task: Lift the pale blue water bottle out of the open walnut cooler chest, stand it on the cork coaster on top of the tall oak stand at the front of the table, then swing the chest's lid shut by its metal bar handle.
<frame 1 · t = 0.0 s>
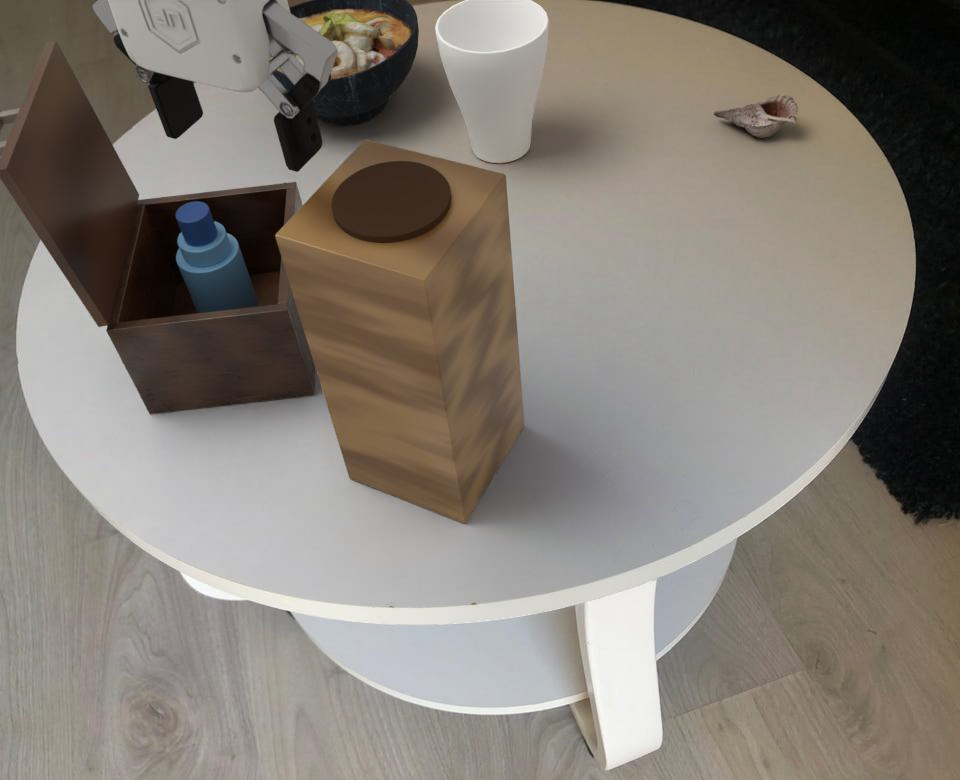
hand: (244, 142, 65), 23 cm above the table, tool pointing down, fingers open, 9 cm apart
cooler: (239, 336, 86), on the table
cooler lid: (47, 190, 73), point 17 cm above the table, hinge at 95.0°
bowl: (350, 105, 109), on the table
coaster: (392, 203, 58), resting on stand
stand: (438, 451, 76), on the table
seashell: (758, 129, 100), on the table
cup: (501, 147, 101), on the table
bottle: (237, 330, 86), point 1 cm above the table, touching cooler
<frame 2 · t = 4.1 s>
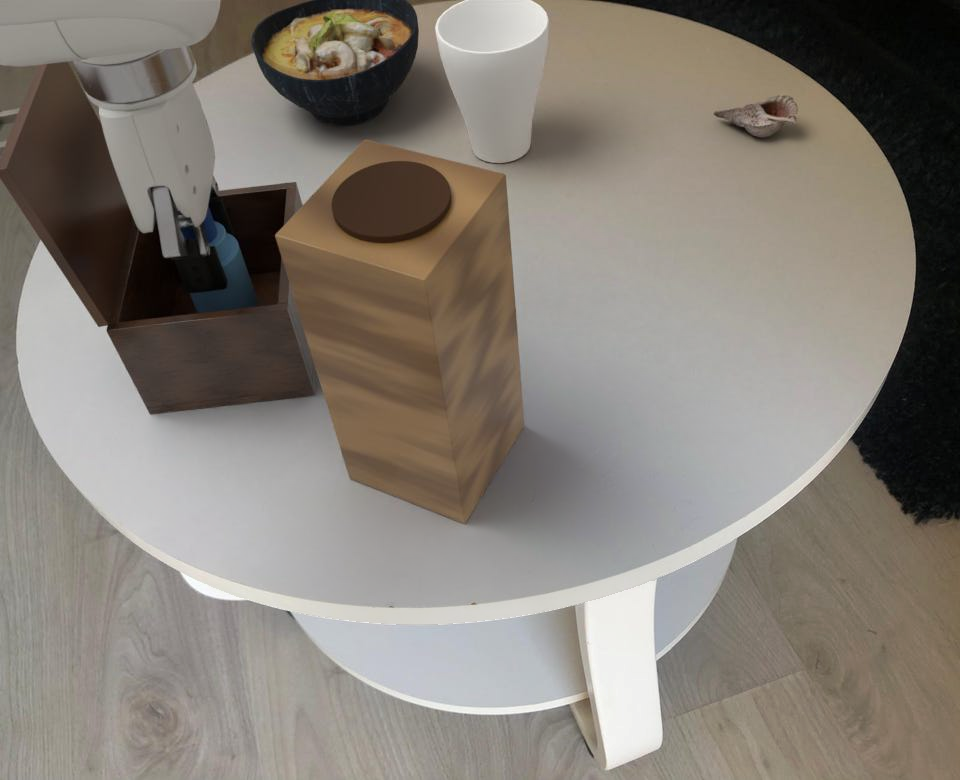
hand: (211, 262, 80), 9 cm above the table, tool pointing down, fingers closed on bottle, 5 cm apart
bottle: (237, 330, 86), point 1 cm above the table, touching cooler, gripper
everything else where it was.
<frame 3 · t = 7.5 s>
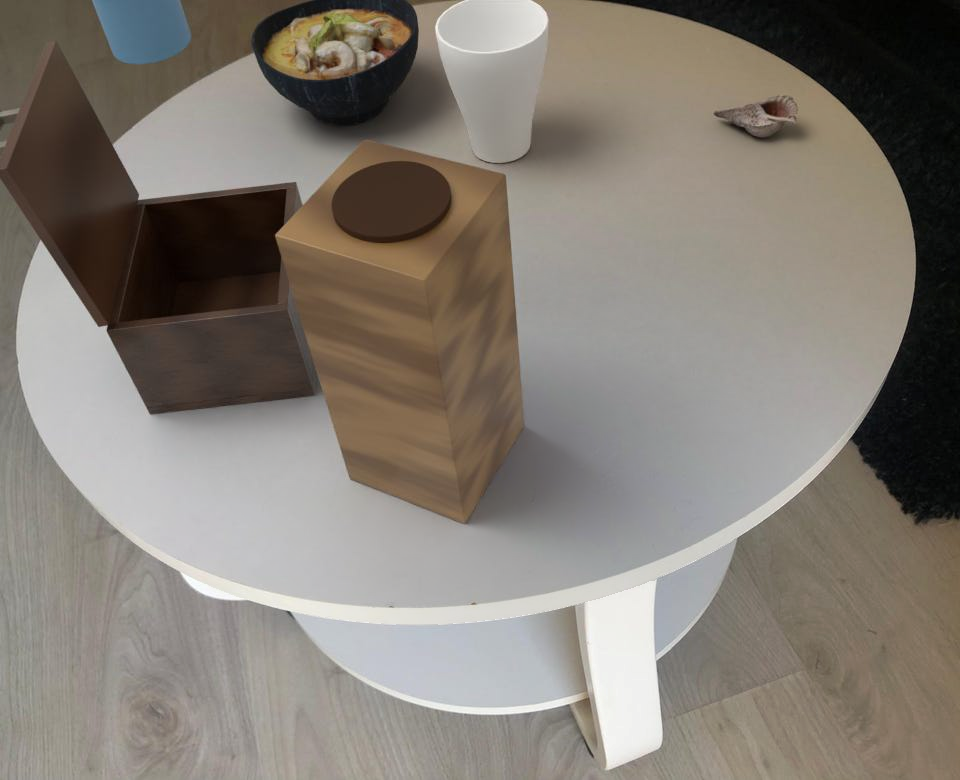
bottle: (152, 43, 63), point 29 cm above the table, touching gripper
everything else where it was.
when the fingers open (32 cm above the table, at t = 10.8 s): bottle stays where it is, resting on coaster.
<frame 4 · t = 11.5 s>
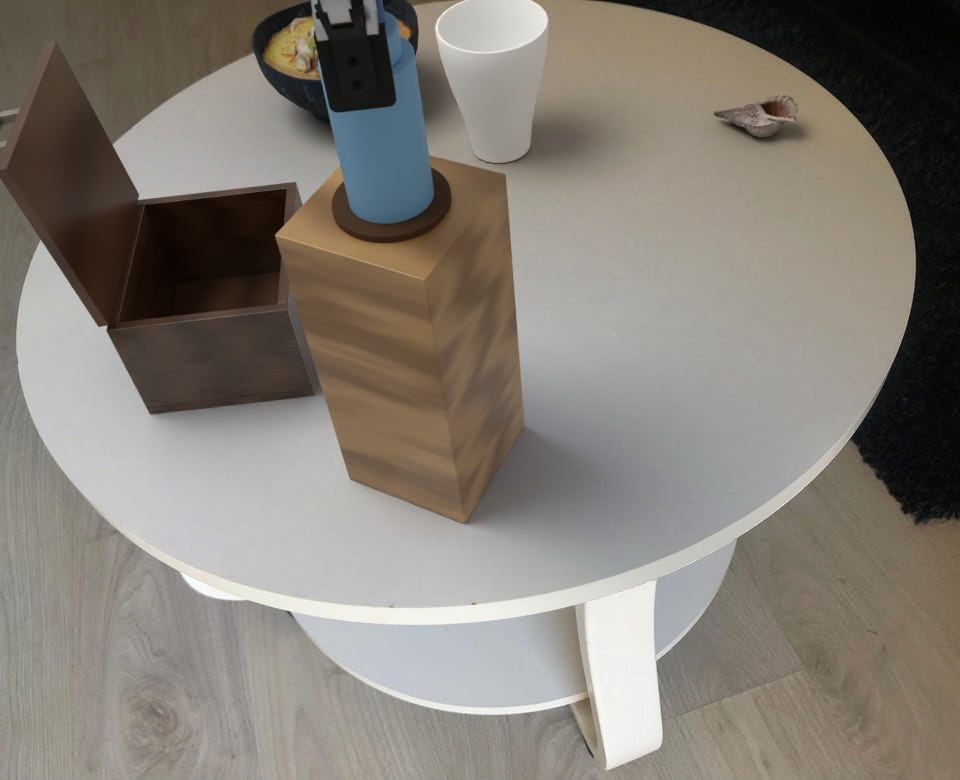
hand: (363, 52, 51), 34 cm above the table, tool pointing down, fingers open, 9 cm apart
bottle: (391, 196, 58), point 24 cm above the table, touching coaster
everything else where it was.
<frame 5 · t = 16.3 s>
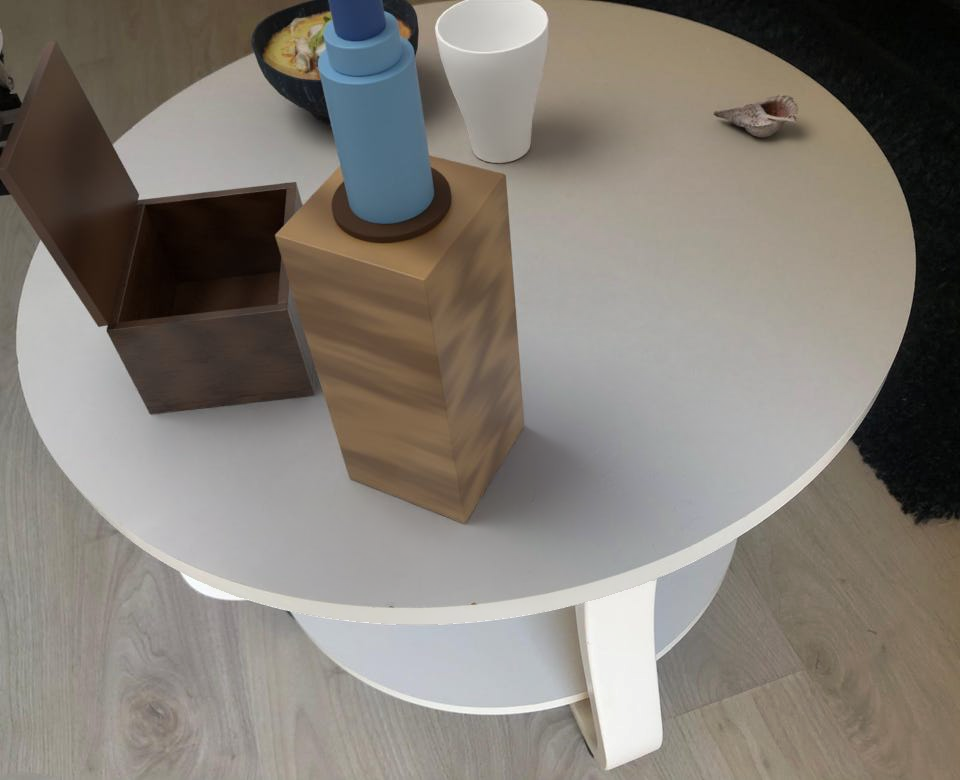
hand: (7, 166, 72), 20 cm above the table, tool pointing down, fingers closed on cooler lid, 5 cm apart
cooler lid: (47, 190, 73), point 17 cm above the table, hinge at 95.0°, touching gripper
everything else where it was.
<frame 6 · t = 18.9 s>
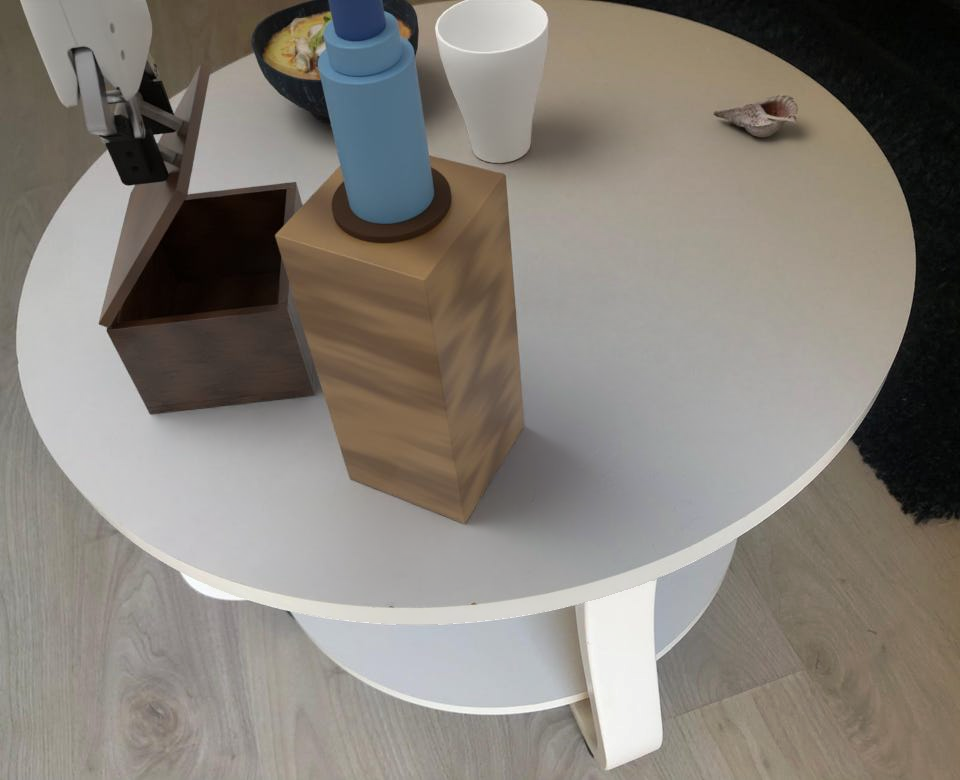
hand: (151, 153, 72), 19 cm above the table, tool pointing down, fingers closed on cooler lid, 5 cm apart
cooler lid: (125, 180, 73), point 17 cm above the table, hinge at 50.0°, touching gripper
everything else where it was.
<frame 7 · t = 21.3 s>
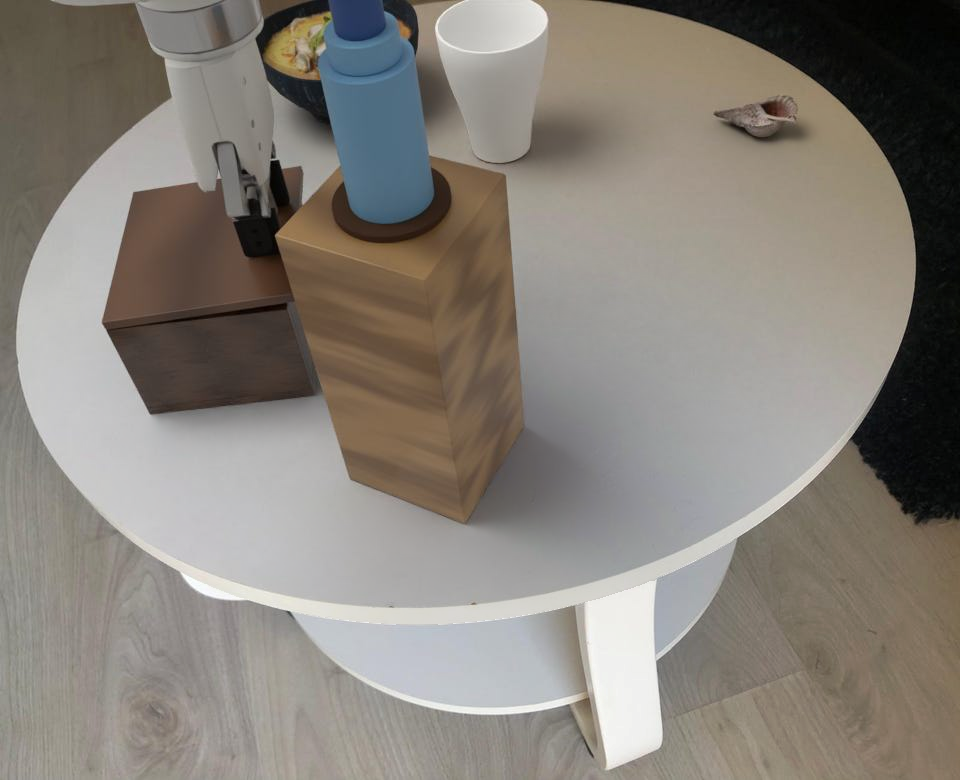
hand: (268, 226, 77), 12 cm above the table, tool pointing down, fingers closed on cooler lid, 5 cm apart
cooler lid: (199, 220, 76), point 13 cm above the table, hinge at 2.7°, touching gripper
everything else where it was.
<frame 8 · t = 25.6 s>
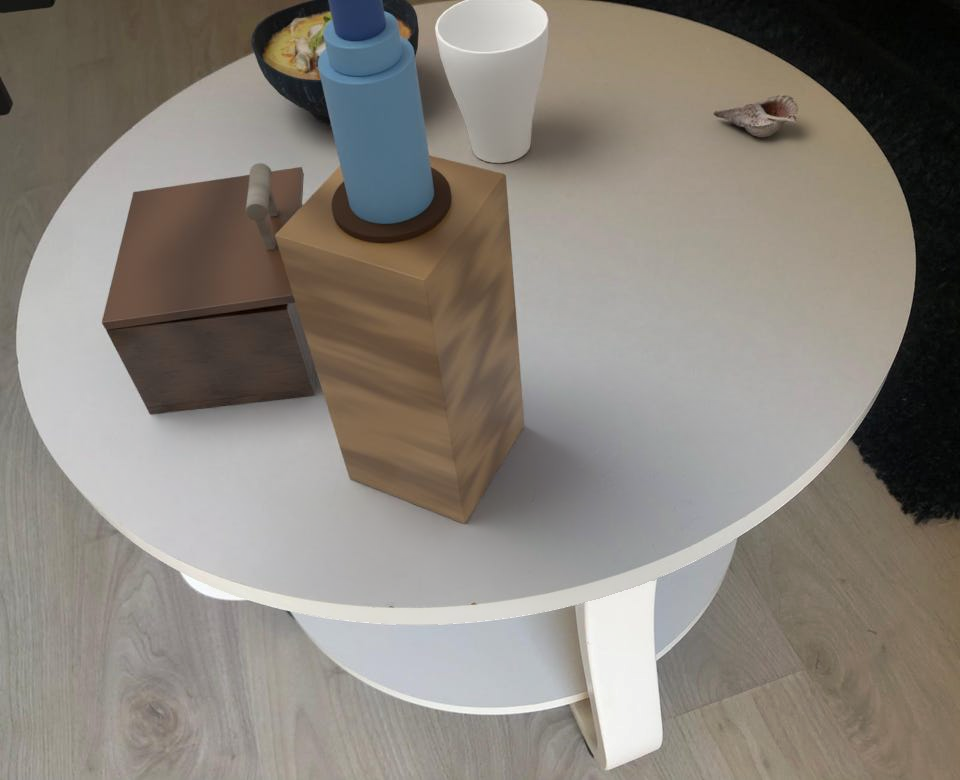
hand: (5, 57, 48), 36 cm above the table, tool pointing down, fingers open, 9 cm apart
cooler lid: (199, 221, 77), point 13 cm above the table, hinge at 2.3°
everything else where it was.
at the end: bottle 0.0 cm off-centre on the coaster, point 0.5 cm above the coaster's base; bottle tilted 0°; cooler lid at +2° (first picture: +95°) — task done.
